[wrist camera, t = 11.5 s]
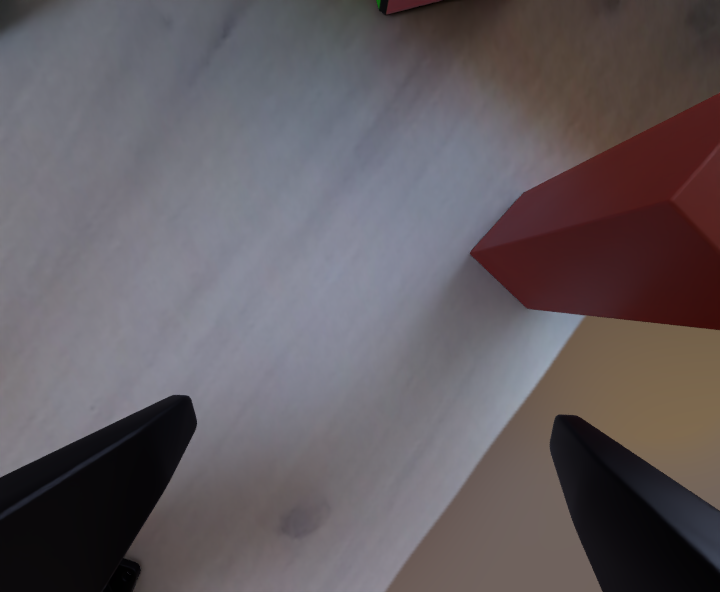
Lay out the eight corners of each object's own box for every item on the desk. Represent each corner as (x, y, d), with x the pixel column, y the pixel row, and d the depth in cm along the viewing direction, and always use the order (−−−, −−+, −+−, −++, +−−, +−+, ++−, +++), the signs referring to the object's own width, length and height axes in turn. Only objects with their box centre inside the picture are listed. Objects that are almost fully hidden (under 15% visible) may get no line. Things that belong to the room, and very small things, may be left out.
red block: (527, 309, 20) (805, 340, 8) (468, 253, 20) (669, 200, 8) (581, 248, 20) (932, 193, 8) (523, 192, 20) (803, 49, 8)
